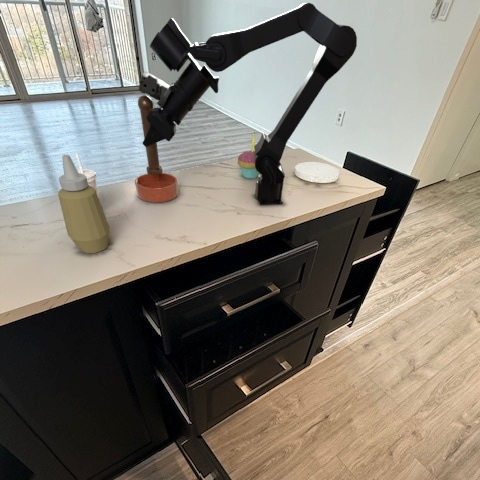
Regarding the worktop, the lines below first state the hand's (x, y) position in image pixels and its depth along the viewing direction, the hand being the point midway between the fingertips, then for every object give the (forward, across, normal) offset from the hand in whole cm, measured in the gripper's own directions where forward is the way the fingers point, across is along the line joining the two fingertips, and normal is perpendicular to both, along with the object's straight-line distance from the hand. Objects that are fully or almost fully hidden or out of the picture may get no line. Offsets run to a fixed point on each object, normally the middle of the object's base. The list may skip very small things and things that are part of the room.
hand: (145, 143), depth 78 cm
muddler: (+4, 0, +6) cm, 7 cm away
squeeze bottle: (+15, +27, +4) cm, 31 cm away
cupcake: (-10, -18, +29) cm, 35 cm away
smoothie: (+18, +13, 0) cm, 22 cm away
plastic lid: (-25, -18, +44) cm, 54 cm away
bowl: (+8, 0, +10) cm, 13 cm away
